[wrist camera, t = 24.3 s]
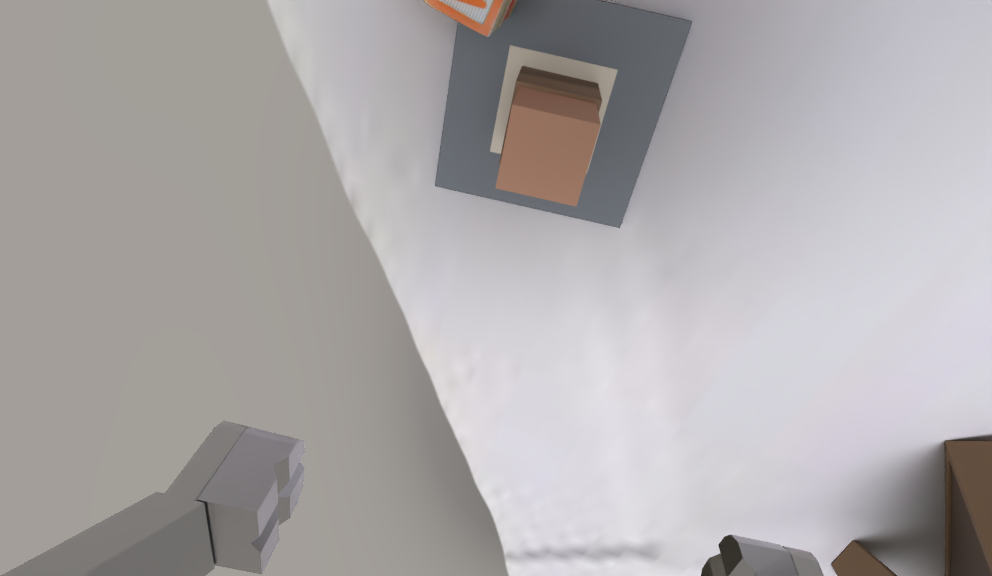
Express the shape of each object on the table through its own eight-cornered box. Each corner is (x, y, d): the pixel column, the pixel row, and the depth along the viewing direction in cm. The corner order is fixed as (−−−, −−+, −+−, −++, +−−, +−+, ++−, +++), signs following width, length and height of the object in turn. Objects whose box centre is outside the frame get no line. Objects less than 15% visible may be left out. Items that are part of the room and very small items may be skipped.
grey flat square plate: (466, -31, 33) (464, -31, 32) (690, 21, 33) (692, 22, 32) (436, 183, 40) (434, 186, 40) (619, 224, 40) (619, 228, 40)
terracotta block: (519, 86, 31) (512, 104, 27) (596, 103, 31) (600, 124, 27) (503, 161, 33) (495, 188, 29) (575, 177, 33) (576, 206, 29)
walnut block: (522, 65, 35) (516, 80, 30) (598, 83, 35) (602, 100, 30) (506, 140, 37) (498, 164, 33) (576, 157, 37) (577, 182, 33)
